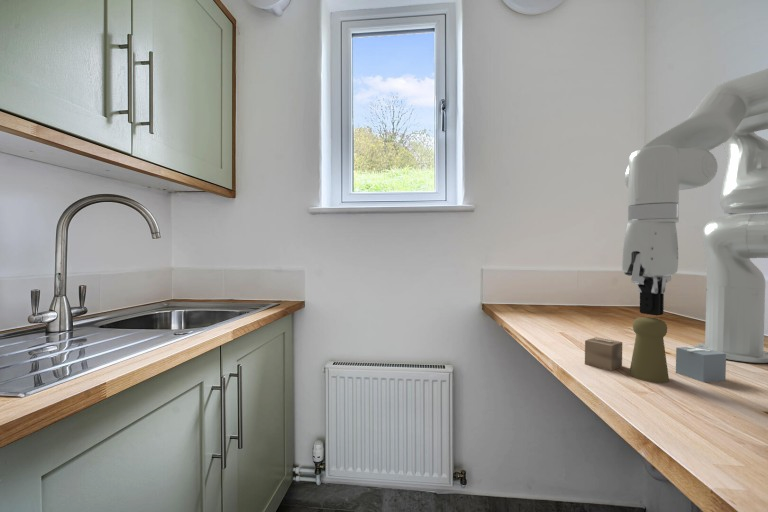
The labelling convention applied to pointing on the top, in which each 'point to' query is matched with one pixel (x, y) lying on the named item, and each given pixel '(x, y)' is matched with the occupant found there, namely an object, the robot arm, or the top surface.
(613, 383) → the top surface
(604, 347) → the walnut numeral block
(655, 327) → the cork
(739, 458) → the top surface
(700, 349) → the slate numeral block
